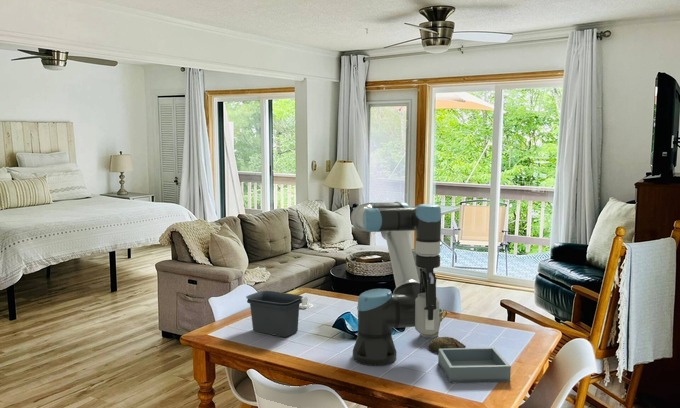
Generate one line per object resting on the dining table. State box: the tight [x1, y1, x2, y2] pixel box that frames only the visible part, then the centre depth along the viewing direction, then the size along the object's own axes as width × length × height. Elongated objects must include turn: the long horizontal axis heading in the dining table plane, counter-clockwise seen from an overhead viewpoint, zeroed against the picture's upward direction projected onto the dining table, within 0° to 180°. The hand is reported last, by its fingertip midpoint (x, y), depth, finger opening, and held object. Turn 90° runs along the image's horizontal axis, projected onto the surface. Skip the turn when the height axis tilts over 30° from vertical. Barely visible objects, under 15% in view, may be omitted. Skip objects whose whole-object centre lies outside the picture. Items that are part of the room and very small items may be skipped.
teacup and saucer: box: [299, 296, 314, 309], centre depth 254 cm, size 9×8×4 cm
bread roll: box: [427, 336, 467, 354], centre depth 199 cm, size 13×12×5 cm
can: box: [414, 293, 440, 335], centre depth 175 cm, size 8×8×12 cm
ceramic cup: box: [419, 307, 448, 339], centre depth 214 cm, size 13×10×10 cm
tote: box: [437, 347, 512, 384], centre depth 179 cm, size 19×16×5 cm
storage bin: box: [245, 290, 304, 338], centre depth 219 cm, size 21×16×14 cm
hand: (427, 324), depth 175 cm, fingers closed on can, 7 cm apart
